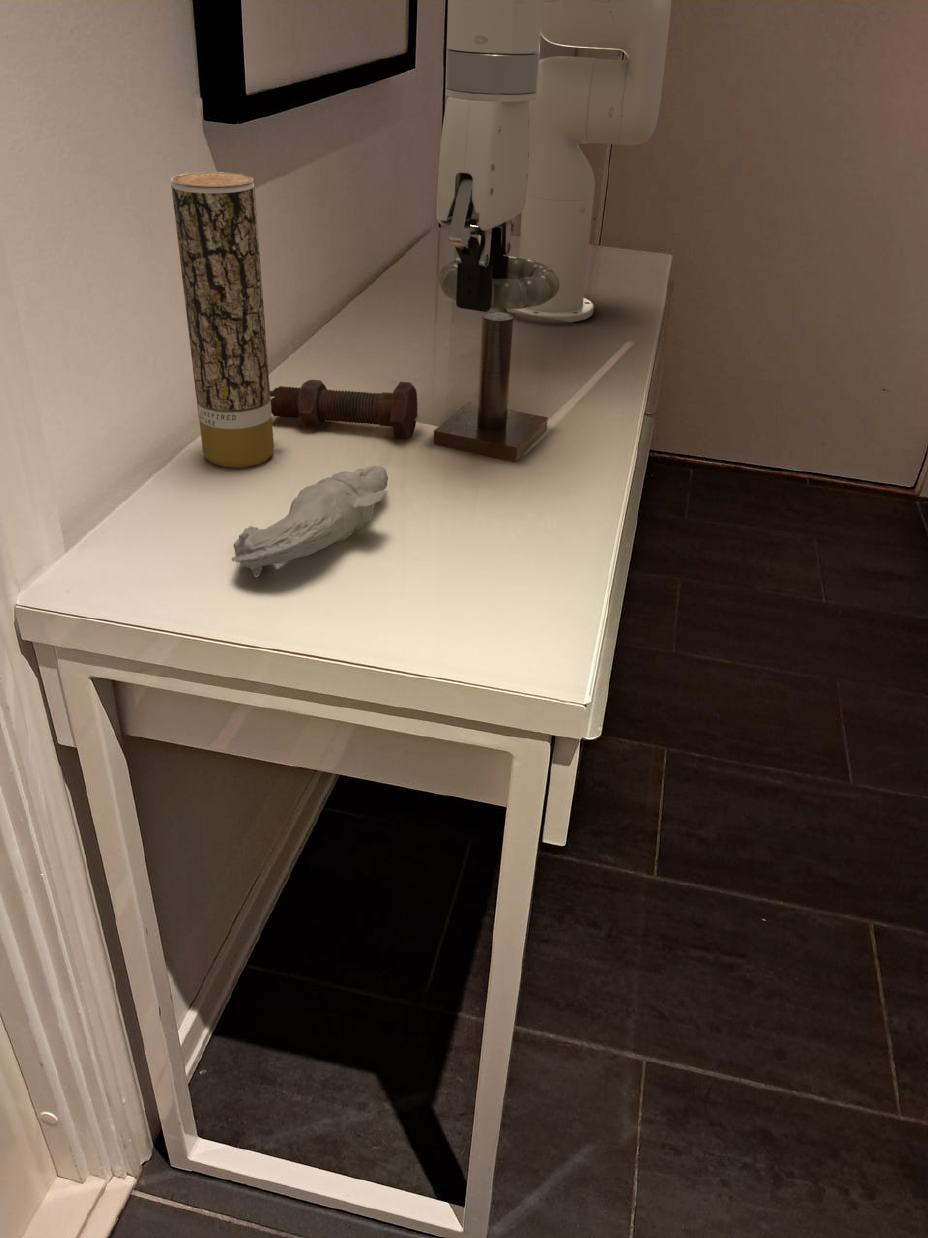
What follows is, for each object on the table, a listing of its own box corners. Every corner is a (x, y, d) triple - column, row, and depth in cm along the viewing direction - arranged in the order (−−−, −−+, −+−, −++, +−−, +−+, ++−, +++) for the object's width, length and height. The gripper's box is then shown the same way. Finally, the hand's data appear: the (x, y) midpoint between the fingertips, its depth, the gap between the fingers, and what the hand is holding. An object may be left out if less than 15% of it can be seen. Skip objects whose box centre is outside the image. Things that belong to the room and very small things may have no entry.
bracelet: (467, 274, 101) (468, 247, 99) (572, 290, 97) (575, 262, 96) (419, 300, 92) (419, 271, 91) (532, 319, 88) (534, 289, 87)
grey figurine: (287, 465, 92) (200, 536, 75) (402, 435, 89) (340, 502, 72) (306, 516, 94) (225, 598, 76) (419, 489, 91) (363, 568, 73)
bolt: (278, 432, 106) (414, 443, 104) (260, 425, 101) (403, 436, 99) (282, 377, 106) (420, 387, 103) (265, 367, 101) (409, 377, 98)
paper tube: (259, 474, 93) (235, 189, 80) (191, 465, 94) (156, 182, 81) (284, 446, 99) (266, 175, 85) (220, 438, 100) (191, 169, 86)
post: (468, 414, 108) (473, 298, 101) (546, 430, 105) (557, 311, 98) (433, 444, 101) (435, 321, 94) (516, 461, 98) (524, 336, 91)
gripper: (487, 67, 89) (478, 278, 99) (406, 80, 76) (405, 320, 86) (567, 74, 86) (549, 289, 96) (496, 88, 74) (484, 334, 84)
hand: (481, 301), depth 91 cm, fingers closed on bracelet, 3 cm apart
